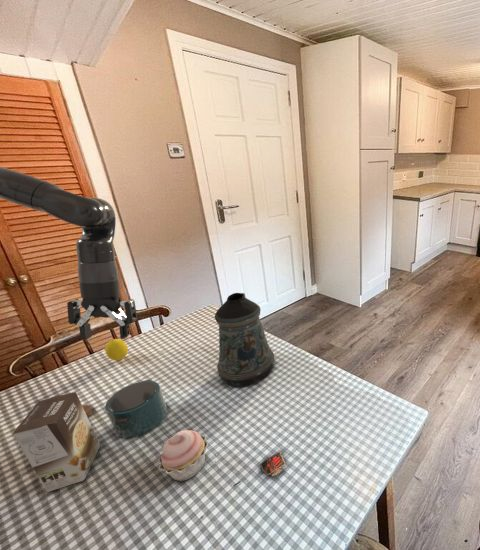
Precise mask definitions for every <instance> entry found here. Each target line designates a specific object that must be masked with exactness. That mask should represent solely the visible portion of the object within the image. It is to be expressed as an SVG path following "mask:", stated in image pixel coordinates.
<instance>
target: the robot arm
mask: <svg viewBox="0 0 480 550" xmlns="http://www.w3.org/2000/svg"><path fill="white" fill-rule="evenodd" d="M0 199H2V200H4V201H7V202H9V203H12V204H16V205H19V206H22V207H25V208H28V209H31V210H35V211H38V212H40V213H45V214H48V215H49V216H51V217H53V218H55V219H58V220H61V221H63V222H65V223H68V224H71V225H72V226H73V225H74V226H76V227H81V236H80V237H79V238H78V239H77V240H76V243H75V250H76V259H77V278H78V285H79V292H80V298H82V300H80V299H78V298H74V299H71V300H70V301H68V302H67V303H66V304H67V305H66V307H67V320H68V321H67V322H68V324H69V325H76V326H78V330H79V336H80V338H82V340H84V341H85V340H87V341H88V340H89V339H91V338H92V336H93V335H92V327H91V323H89V322H90V321H91V320H92V319H93V318H94V319H95V318H105V319H107V318H108V319H109V318H110V319H111V320H112V321H115V322H116V323H117V324H118V326H119V327H118V328H119V337H120V338H119V339H120V340H125V339H127V338H128V337H129V336H130V334H131V329H130V327H131V326H130V324H132V323H134V322H136V321H137V320H138V314H137V307H136V302H135V300H134V299H133V298H130V299H129V300H122V299H121V298H120V295H121V291H120V290H121V289H120V281H119V270H118V266H117V262H116V256H115V247H114V246H115V245H114V239H115V233H116V225H117V224H116V222H117V220H116V219H117V218H116V213H115V209H114V207H113V206H112V205H111V204H110V203H109V202H108V201H107V200H105V199H102V198H99V197H86V196H82V195H79V194H76V193H73V192H70V191H68V190H66V189H65V190H64V189H63V188H62V187H61V186H59V185H57V184H54V183H52V182H49V181H47V180H44V179H40V178H38V177H35V176H32V175H29V174H27V173H23V172H20V171H17V170H14V169H10V168H7V167H3V166H0ZM121 307H122V309H123V310H124V311H125V312H124V311H123V310H122V309H121ZM81 308H83V309H84V310H85V312H84V313H83V314H81Z"/></svg>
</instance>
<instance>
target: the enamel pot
mask: <svg viewBox="0 0 480 550" xmlns="http://www.w3.org/2000/svg"><path fill="white" fill-rule="evenodd" d="M104 410H105V412H106V414H107V417H108V419H109V421H110V423H111V426H112V429H113V430H114V432H115V434H116V436H118V437H119V438H125V439H130V438H135V437H139V436H141V435H144V434H146V433H148V432H150V431H151V430H153V429H155V428H156V427H157V426H158V425H159V424H160V423H161V422H163V421H164V419H165V417H166V416H167V413H168V407H167V404H166V400H165V398H164V394H163V392H162V389H161V387H160V384H159V383H158V382H157V381H153V380H152V379H146V380H141V381H137V382H134V383H131V384H129V385H126V386H125V387H123V388H120V389H118V391H116V392H114V393H113V394H112V395H111V396H110V397H109V398H108V399H107V400H106V403H105V405H104Z"/></svg>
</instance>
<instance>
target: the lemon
mask: <svg viewBox="0 0 480 550" xmlns="http://www.w3.org/2000/svg"><path fill="white" fill-rule="evenodd" d="M104 351H105V355H106V357H107V358H109V359H110V360H113V361H122V360H123V359H124V358H125V357H126V356H127V355H128V352H129V348H128V345H127V343H126V341H124V339H121V338H112V339H111V340H109V341H108V342H107V343H106V344H105V348H104Z"/></svg>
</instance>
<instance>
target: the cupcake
mask: <svg viewBox="0 0 480 550" xmlns="http://www.w3.org/2000/svg"><path fill="white" fill-rule="evenodd" d="M206 439H207V436H206V435H200V433H199V432H197V430H189V429H184V430H180V431H177V432H176V433H175V434H174V435H172V436H171V437H169V438H168V439H167V440H166V441H165V442H164V444H163V446H162V453H161V455H160V456H159V457H158V459H157V462H158V463H160V464H159V466H158V470H159V471H162V472H165V473H166V474H167V475H168V476H170V477H171V478H172V479H173V480H175V481H179V482H185V481H187V480H189V479H192V478H193V477H195V476H196V475H197V474H198V473H199V472H201V470H202V469H203V467H204V466H205V462H206V451H207V449H208V445H209V442H208V441H206Z"/></svg>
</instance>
